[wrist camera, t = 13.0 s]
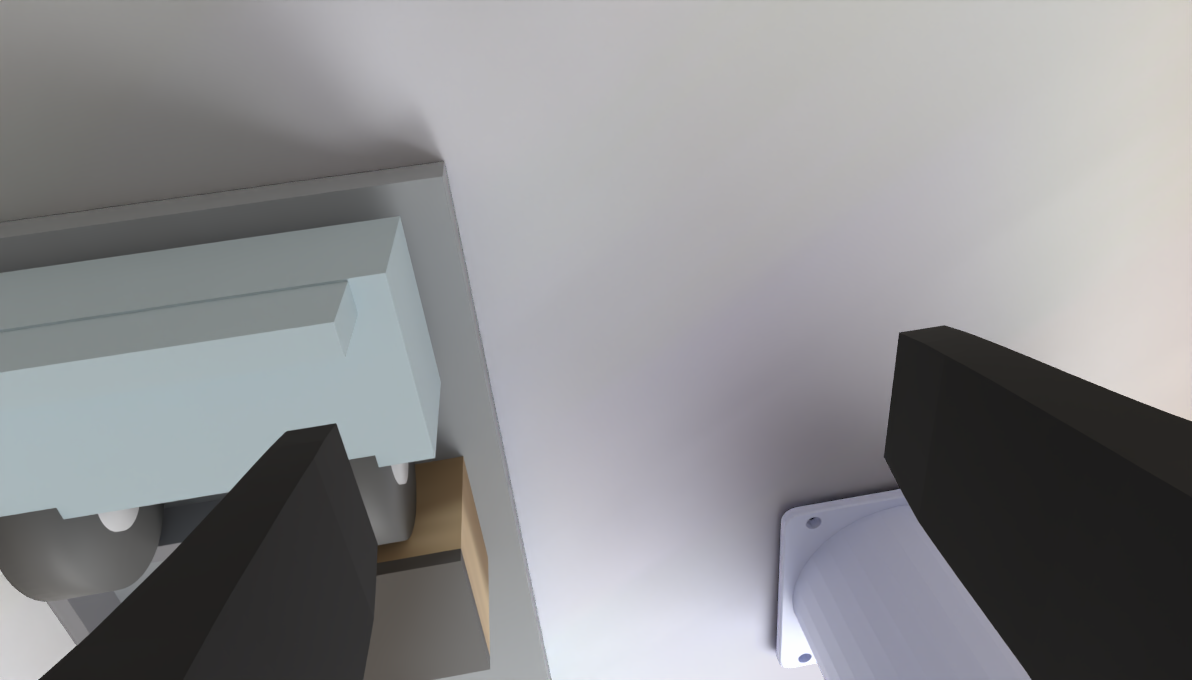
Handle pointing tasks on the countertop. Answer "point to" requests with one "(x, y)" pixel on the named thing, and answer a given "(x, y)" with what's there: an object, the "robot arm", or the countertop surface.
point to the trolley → (201, 389)
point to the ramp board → (451, 327)
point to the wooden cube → (433, 586)
